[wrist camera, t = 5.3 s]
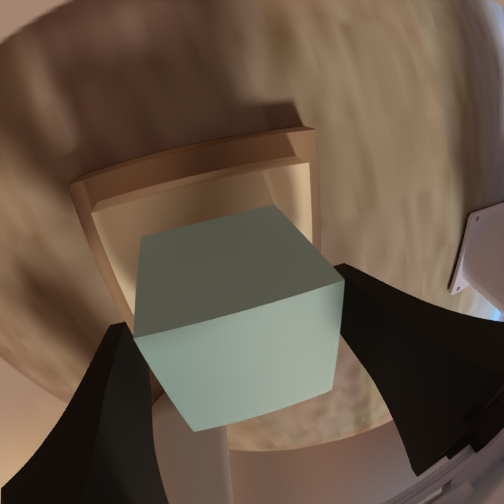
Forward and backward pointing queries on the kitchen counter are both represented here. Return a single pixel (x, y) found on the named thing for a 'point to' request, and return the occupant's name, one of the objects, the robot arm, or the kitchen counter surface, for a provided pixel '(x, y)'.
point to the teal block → (237, 316)
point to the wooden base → (194, 196)
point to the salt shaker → (190, 458)
